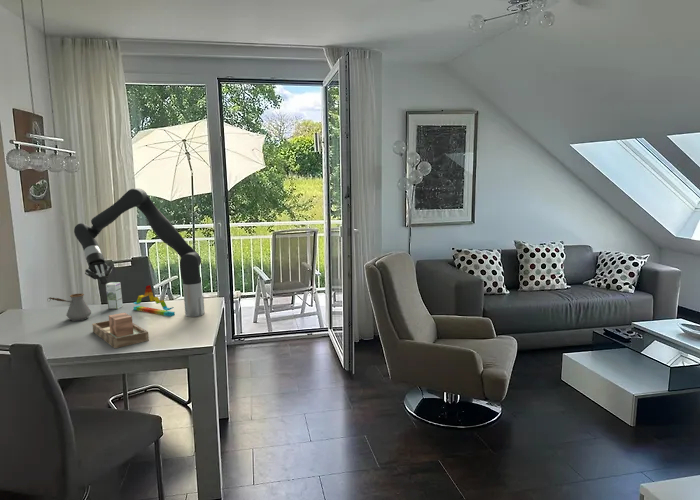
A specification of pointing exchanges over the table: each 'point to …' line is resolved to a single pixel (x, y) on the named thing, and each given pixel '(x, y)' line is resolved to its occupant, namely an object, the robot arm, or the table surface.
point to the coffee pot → (76, 307)
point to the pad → (128, 335)
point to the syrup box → (114, 295)
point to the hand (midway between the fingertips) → (104, 284)
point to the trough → (104, 332)
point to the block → (121, 324)
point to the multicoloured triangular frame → (151, 310)
